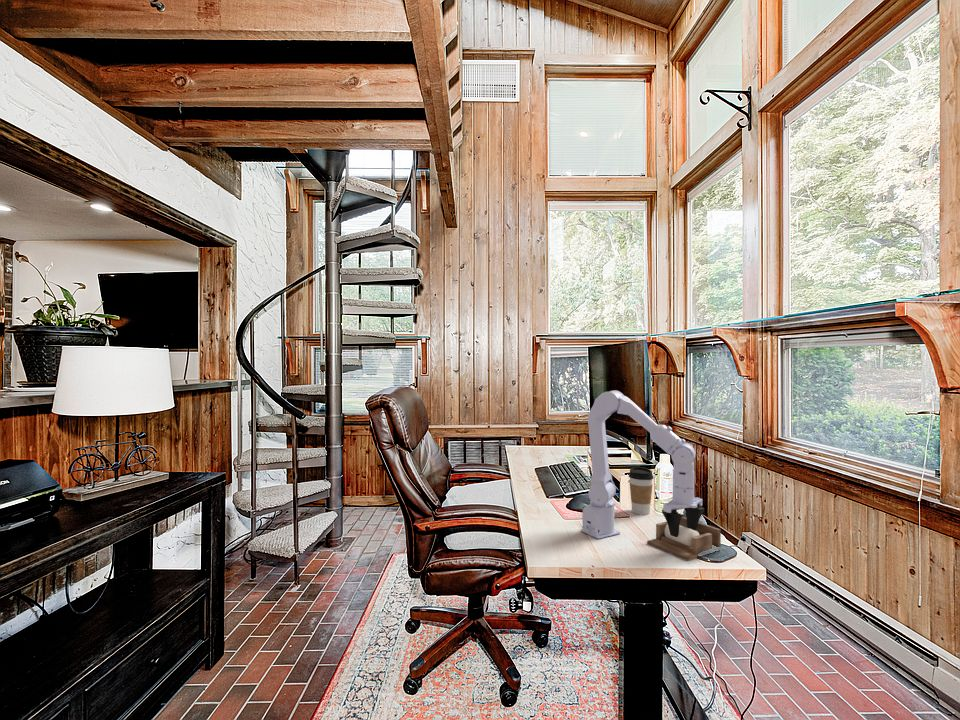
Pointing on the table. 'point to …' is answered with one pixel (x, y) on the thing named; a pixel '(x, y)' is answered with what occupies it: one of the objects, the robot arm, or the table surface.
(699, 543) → the holder
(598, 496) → the robot arm
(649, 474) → the coffee cup
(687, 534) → the roll
